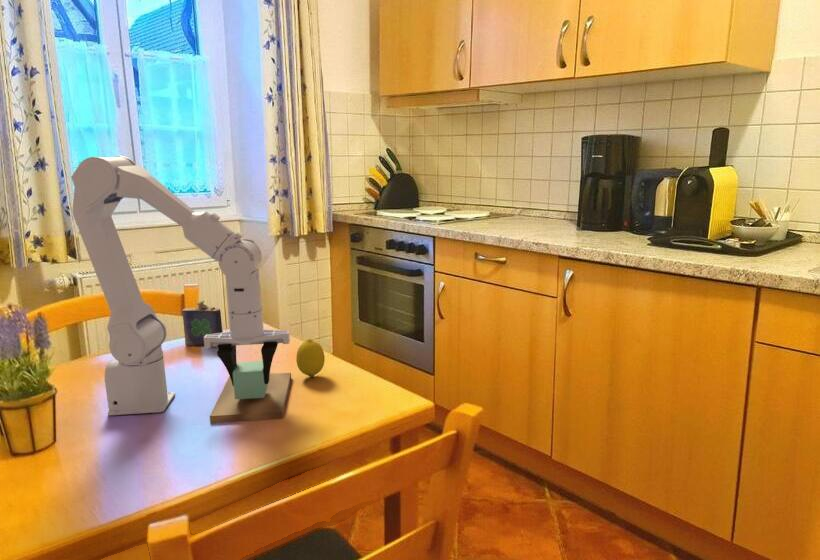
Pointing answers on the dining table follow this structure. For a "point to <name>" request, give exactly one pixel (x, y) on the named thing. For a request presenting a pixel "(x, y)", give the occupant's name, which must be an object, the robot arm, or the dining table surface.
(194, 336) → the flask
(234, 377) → the block
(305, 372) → the lemon
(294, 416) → the dining table surface
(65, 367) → the dining table surface
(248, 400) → the board
